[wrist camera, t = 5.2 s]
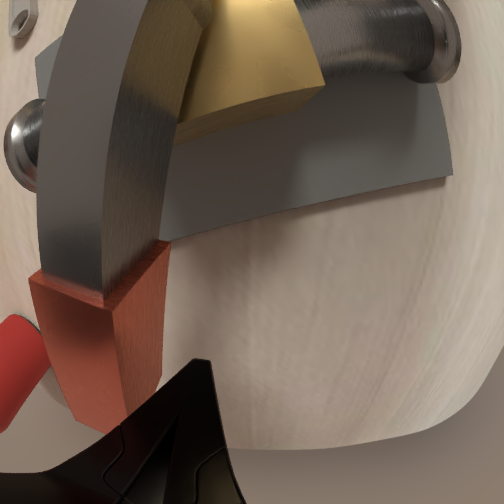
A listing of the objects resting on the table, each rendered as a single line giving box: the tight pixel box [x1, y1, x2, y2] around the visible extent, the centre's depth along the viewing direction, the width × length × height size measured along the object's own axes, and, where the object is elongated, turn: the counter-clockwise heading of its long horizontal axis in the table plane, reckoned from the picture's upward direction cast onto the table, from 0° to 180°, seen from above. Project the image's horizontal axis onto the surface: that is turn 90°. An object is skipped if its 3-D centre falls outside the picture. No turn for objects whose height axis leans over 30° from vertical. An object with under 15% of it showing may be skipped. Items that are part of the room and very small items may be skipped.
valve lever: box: [28, 0, 213, 434], centre depth 5 cm, size 13×2×3 cm, turn 167°
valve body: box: [4, 0, 461, 193], centre depth 8 cm, size 20×6×7 cm, turn 105°
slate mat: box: [35, 35, 453, 241], centre depth 11 cm, size 22×15×1 cm
